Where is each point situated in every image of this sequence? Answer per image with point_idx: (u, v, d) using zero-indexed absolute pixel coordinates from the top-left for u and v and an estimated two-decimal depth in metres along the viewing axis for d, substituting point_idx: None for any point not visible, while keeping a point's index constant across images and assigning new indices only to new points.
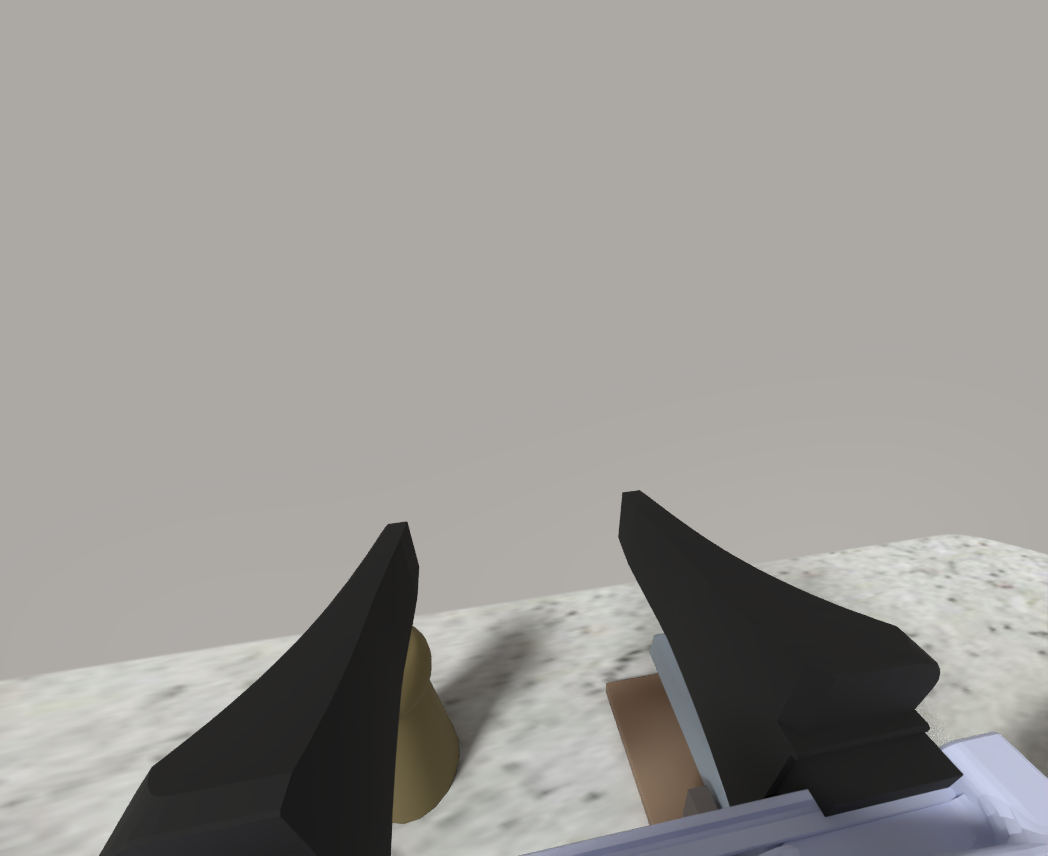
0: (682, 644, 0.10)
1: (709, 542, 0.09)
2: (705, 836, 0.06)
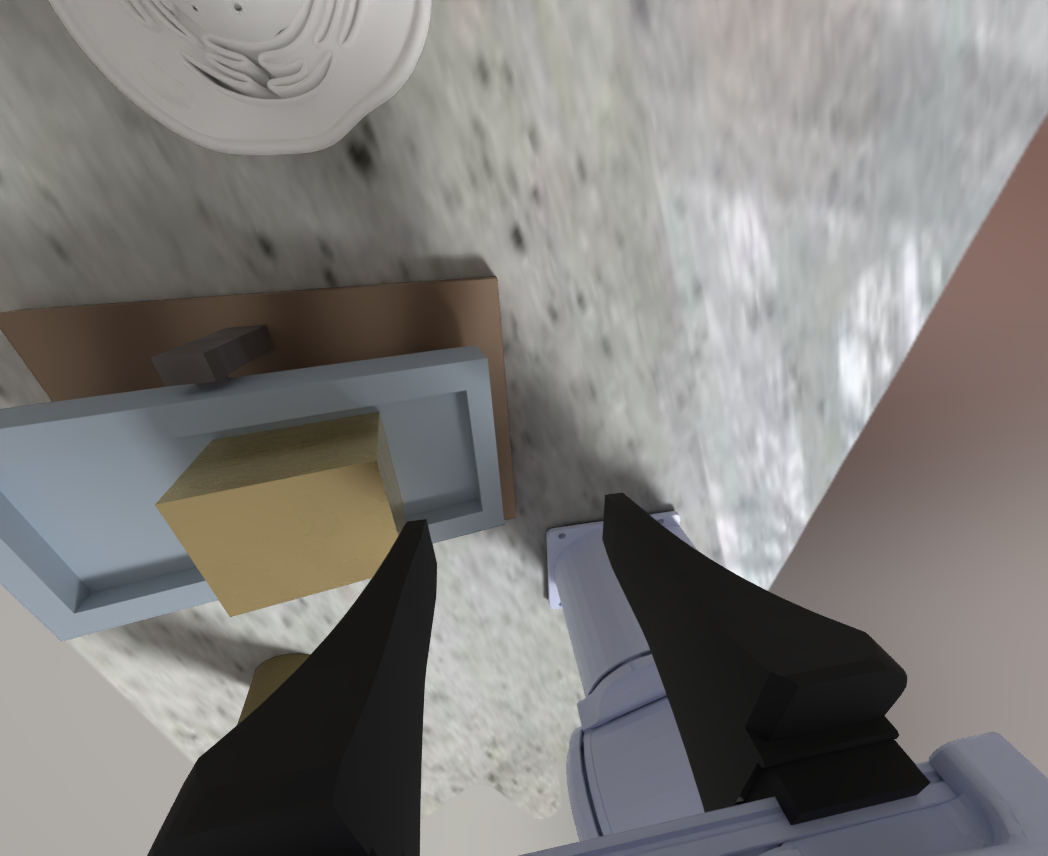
0: (660, 648, 0.10)
1: (687, 545, 0.09)
2: (705, 836, 0.06)
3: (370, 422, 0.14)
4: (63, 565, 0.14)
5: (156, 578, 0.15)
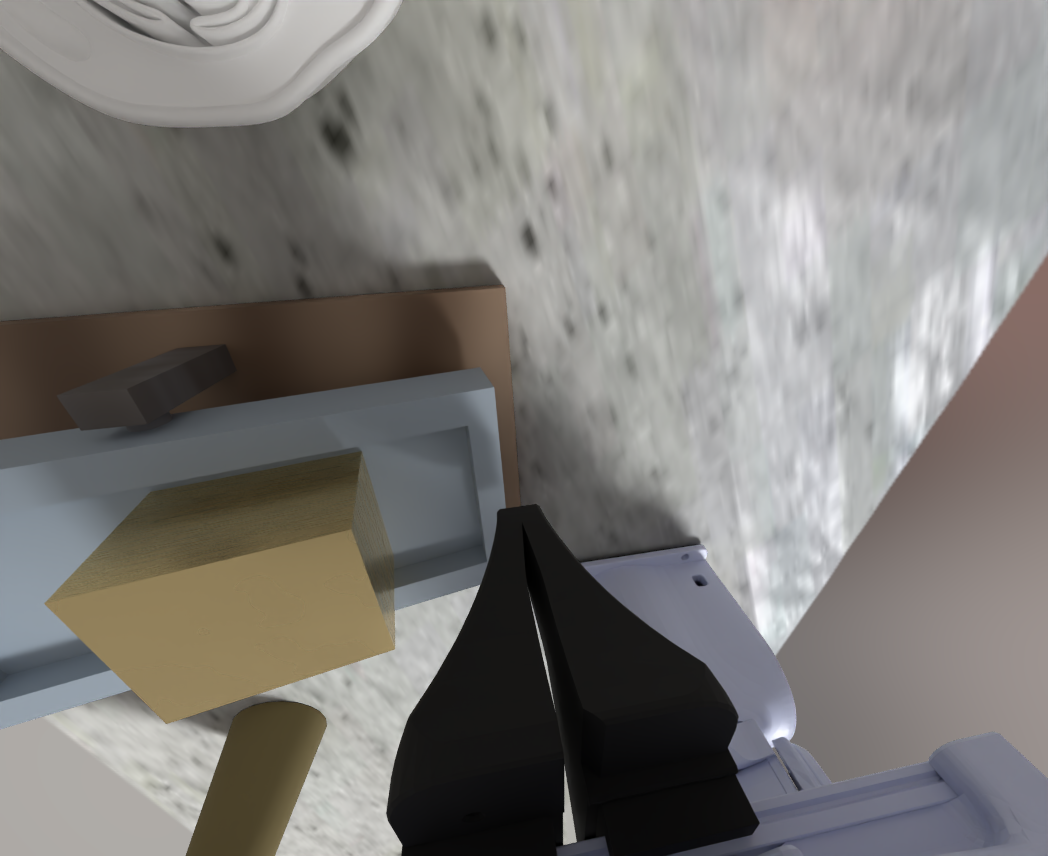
0: (550, 668, 0.09)
1: (575, 562, 0.09)
2: (705, 836, 0.06)
3: (349, 467, 0.12)
4: None
5: (90, 655, 0.13)
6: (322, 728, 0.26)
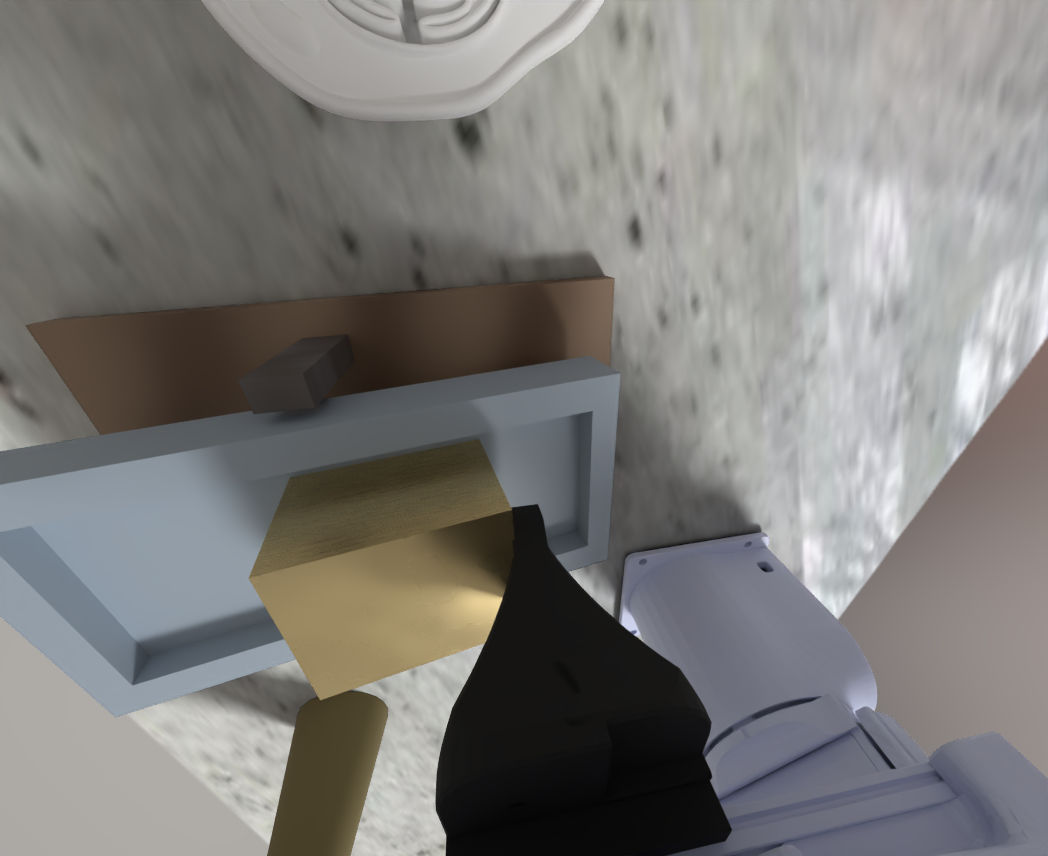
0: None
1: (557, 565, 0.09)
2: (705, 836, 0.06)
3: (476, 454, 0.12)
4: (119, 627, 0.12)
5: (224, 636, 0.13)
6: (385, 717, 0.26)
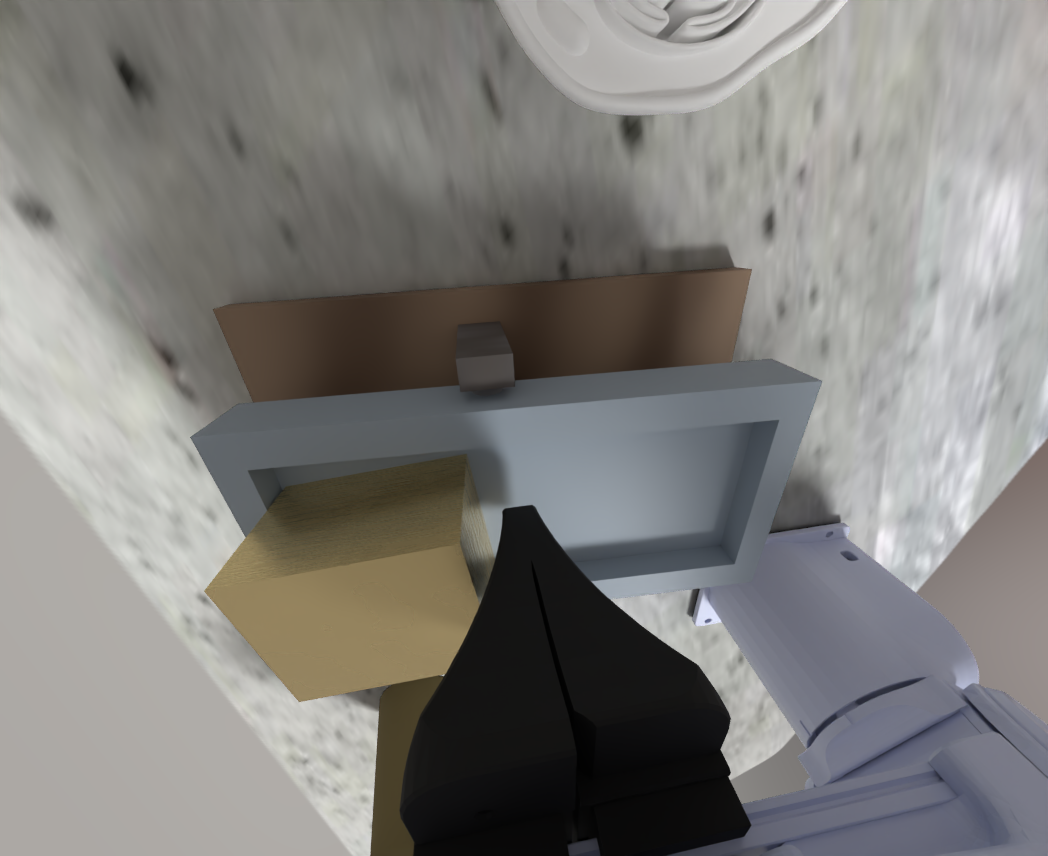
0: None
1: (570, 563, 0.09)
2: (705, 836, 0.06)
3: (455, 472, 0.11)
4: None
5: None
6: None
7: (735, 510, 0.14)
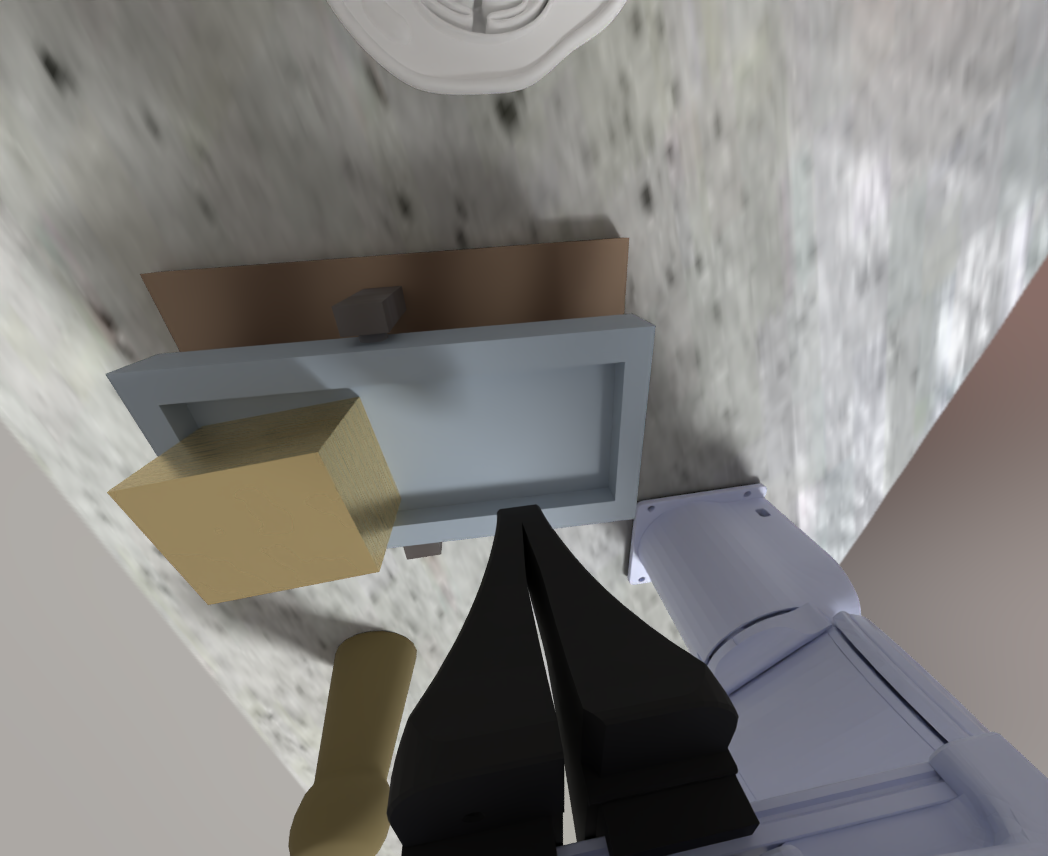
0: (550, 668, 0.09)
1: (575, 562, 0.09)
2: (705, 836, 0.06)
3: (342, 408, 0.13)
4: None
5: None
6: (414, 657, 0.29)
7: (612, 451, 0.16)
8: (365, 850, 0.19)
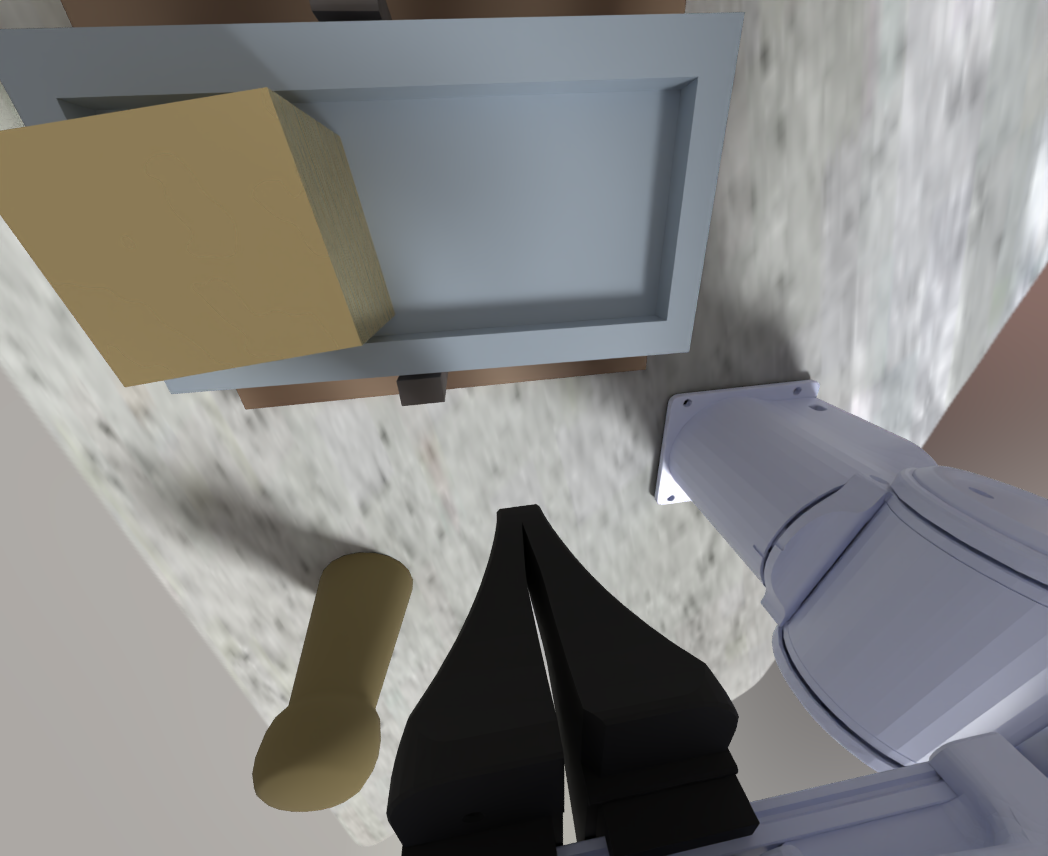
0: (550, 668, 0.09)
1: (575, 562, 0.09)
2: (705, 836, 0.06)
3: None
4: None
5: None
6: (410, 587, 0.25)
7: (665, 252, 0.12)
8: (346, 781, 0.16)
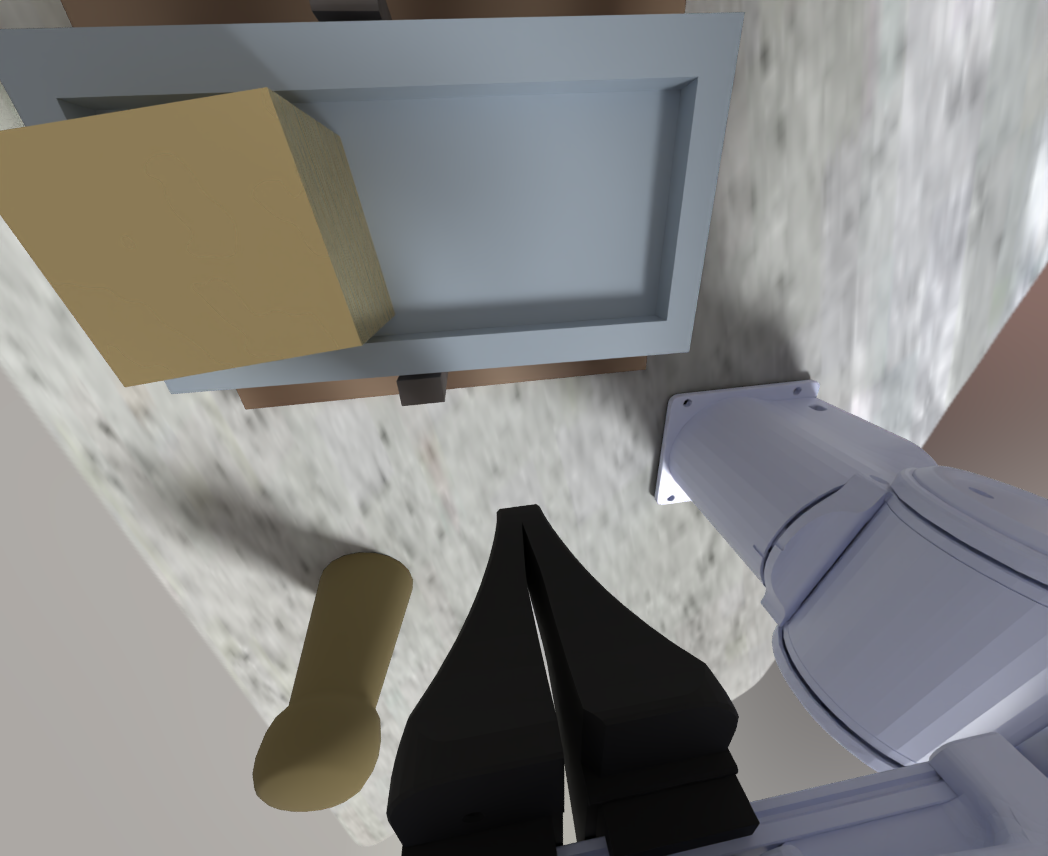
0: (550, 668, 0.09)
1: (575, 562, 0.09)
2: (705, 836, 0.06)
3: None
4: None
5: None
6: (410, 587, 0.25)
7: (665, 252, 0.12)
8: (346, 780, 0.16)
